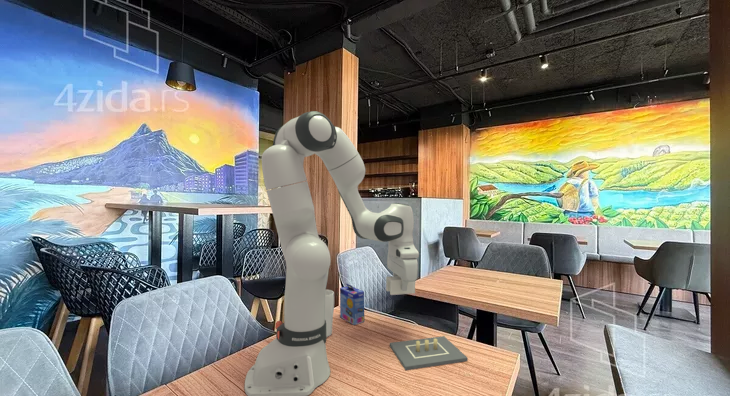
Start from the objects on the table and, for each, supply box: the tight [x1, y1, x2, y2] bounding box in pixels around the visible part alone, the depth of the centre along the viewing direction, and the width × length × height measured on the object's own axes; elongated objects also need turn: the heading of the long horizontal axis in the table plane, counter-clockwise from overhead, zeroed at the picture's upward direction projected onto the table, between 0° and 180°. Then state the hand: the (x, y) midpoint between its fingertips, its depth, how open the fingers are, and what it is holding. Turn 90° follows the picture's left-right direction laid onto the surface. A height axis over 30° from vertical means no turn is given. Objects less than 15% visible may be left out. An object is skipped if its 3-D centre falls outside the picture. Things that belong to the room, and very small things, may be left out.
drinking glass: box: [325, 289, 335, 337], centre depth 105 cm, size 7×7×15 cm
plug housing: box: [385, 275, 416, 296], centre depth 105 cm, size 9×5×5 cm, turn 104°
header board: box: [389, 335, 469, 371], centre depth 93 cm, size 20×14×4 cm
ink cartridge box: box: [339, 283, 365, 326], centre depth 117 cm, size 10×6×14 cm, turn 40°
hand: (400, 287), depth 105 cm, fingers closed on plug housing, 5 cm apart
